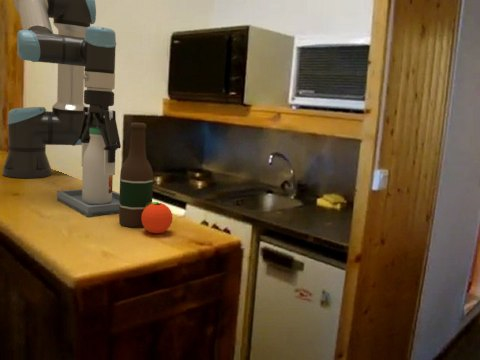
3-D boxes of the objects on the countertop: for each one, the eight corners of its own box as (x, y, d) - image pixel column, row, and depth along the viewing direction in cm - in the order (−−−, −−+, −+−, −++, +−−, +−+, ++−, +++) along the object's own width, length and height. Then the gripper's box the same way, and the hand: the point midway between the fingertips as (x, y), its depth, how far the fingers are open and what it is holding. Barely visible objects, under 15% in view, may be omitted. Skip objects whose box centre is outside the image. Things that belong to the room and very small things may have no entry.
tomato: (131, 230, 102) (132, 200, 101) (155, 225, 107) (156, 196, 106) (154, 239, 97) (155, 207, 96) (178, 233, 102) (179, 203, 101)
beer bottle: (140, 217, 113) (143, 121, 109) (158, 225, 107) (162, 124, 103) (112, 221, 107) (114, 121, 103) (129, 230, 102) (132, 124, 98)
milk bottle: (103, 206, 117) (104, 129, 114) (76, 202, 119) (77, 127, 115) (117, 200, 125) (119, 128, 121) (91, 197, 126) (92, 125, 123)
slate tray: (57, 200, 124) (57, 191, 124) (104, 195, 134) (104, 187, 133) (87, 217, 110) (88, 207, 109) (138, 210, 119) (139, 201, 119)
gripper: (66, 87, 123) (65, 163, 127) (107, 90, 105) (105, 180, 109) (92, 89, 128) (91, 162, 132) (136, 93, 110) (133, 178, 114)
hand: (97, 170), depth 120 cm, fingers open, 13 cm apart
